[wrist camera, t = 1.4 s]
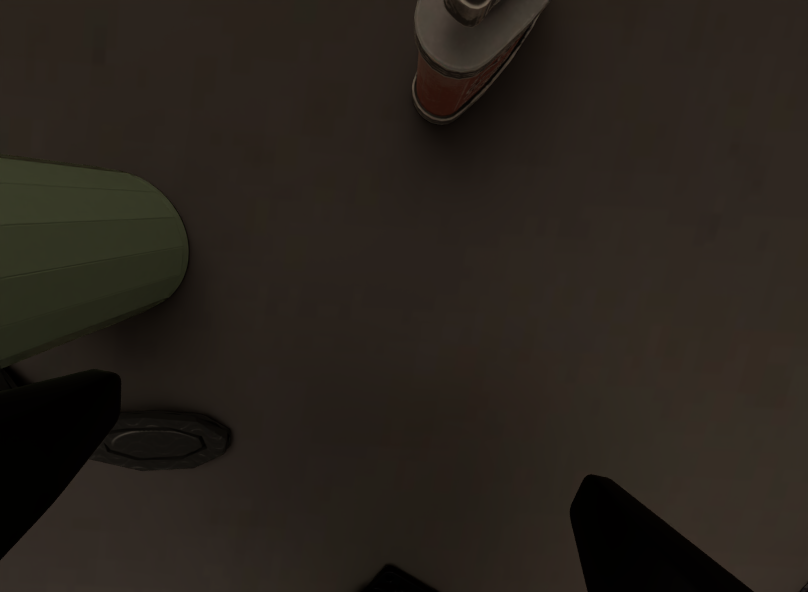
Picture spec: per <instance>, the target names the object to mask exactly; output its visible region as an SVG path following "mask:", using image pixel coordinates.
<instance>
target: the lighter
mask: <svg viewBox="0 0 808 592" xmlns="http://www.w3.org/2000/svg"><path fill="white" fill-rule="evenodd" d="M550 1H551V0H418V2H417V6H416V11H415V15H414V32H415V43H416V45H417V47H418V50H419V56H418V71H417V73H416V75H415V77H414V81H413V85H412V97H413V103H414V105H415V107H416V109H417V111H418V112H419V113H420V115H421V116H422V117H423V118H424V119H426V120H428V121H429V122H431V123H434V124H439V125H443V124H449V123H451V122H453V121H454V120H456V119H457V118H458V117H460V116H461V115H462V114H463V113H464V112H465V111H466V110H467V109H468V108H469V107H470V106H471V105H473V104H474V103H475V102H476V101H477V100H478V99H479V98H480V97H481V96H482V95H483V94H484V93H485V92H486V90H487V89H488V88H489V87H490V86H491V85H492V83H493V82H494V81H495V80H496V79H497V78H498V76H499V75H500V74H501V73H502V72H503V71H504V69H505V68H506V67H507V66H508V64H509V63H510V61H511V60H512V58H513V57H514V55H515V54H516V52H517V51H518V49H519V48H520V46H521V44H522V43H523V41H524V40H525V38H526V37H527V35H528V34H529V32H530V31H531V29H532V28H533V26H534V24H535V22H536V20H537V18H538V16H539V14H540V13H541V12H542V11H543V9H544V8H545V7H546V6H547V5H548V4H549V2H550Z"/></svg>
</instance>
